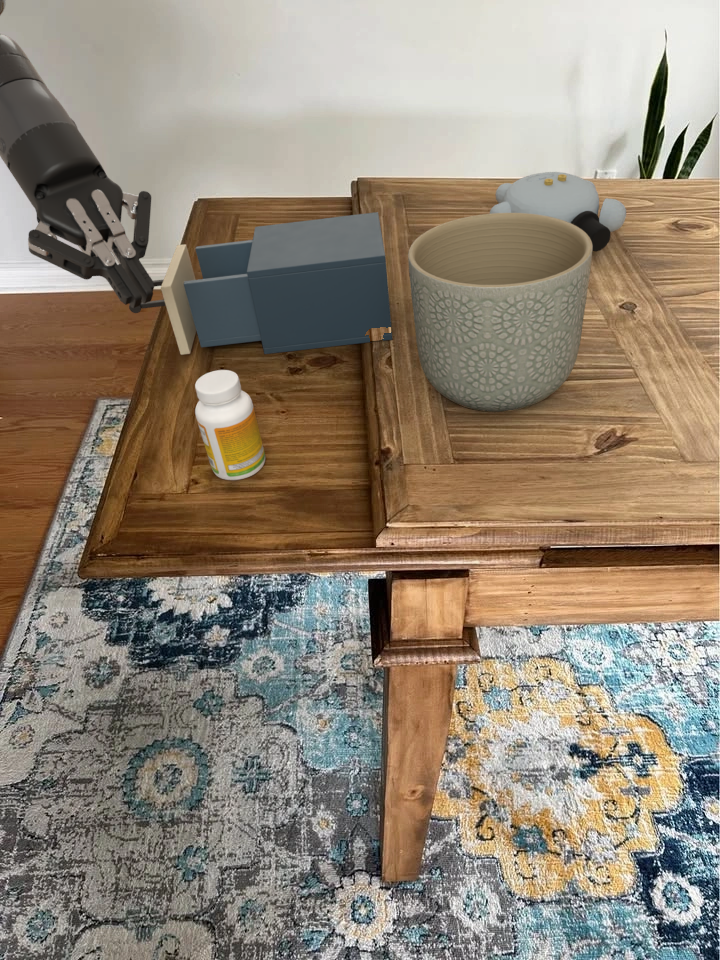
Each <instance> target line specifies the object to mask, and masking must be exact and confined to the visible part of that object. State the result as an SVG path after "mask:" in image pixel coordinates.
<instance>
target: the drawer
mask: <svg viewBox="0 0 720 960" xmlns="http://www.w3.org/2000/svg"><path fill="white" fill-rule="evenodd" d="M252 241H253V239H247V240H239V241H232V242H224V243H214V244H206V245H199V246H195V253H196V257H197V261H198V264H199V265H198V266H199V268H200V273H201V277H202V279H201V278H200V279H196V275H195V272H194V269H193V264H192V260H191V257H190V254H189V253H190V252H189V249H188V246H187V244H186V243H185V244H177V245H176V247H175V250H174V252H173V255H172V257H171V259H170V263H169V265H168V267H167V270H166V273H165V275H164V278H163V279H155V280H153V283H154V288H155V287H160V290H161V293H162V297H163V299H158V300H151V301H149V302H147V303H143V302H142V301H141V304H140V306H138V307H135V308H132V307H131V306H130V304H128V305H129V306H128V307H129V308H128V309H129V311H130V312H131V313H133V314H139V313H141V311H142V309H150V308H151V309H152V308H159V307H166V310H167V313H168V317H169V321H170V323H171V327H172V330H173V334H174V337H175V341H176V344H177V347H178V350H179V354H180V355H181V356H183V355H190V354H191V351H192V349H193V346H194V345H193V344H194V340H195V337H196V334H197V338H198V341H199V345H200V348H208V347H209V348H210V347H217V346H226V345H235V344H242V343H252V342H259V341H260V342H262V340H261V336H260V331H259V327H258V322H257V317H256V313H255V308H254V303H253V299H252V294H251V290H250V285H249V280H248V276H247V268H248V263H249V257H250V252H251V247H252Z"/></svg>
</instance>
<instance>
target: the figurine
mask: <svg viewBox="0 0 720 960" xmlns="http://www.w3.org/2000/svg"><path fill="white" fill-rule="evenodd" d="M495 200H496V201H497V204H494V205H493V206H492V207H491V208H490V210H489V214H492V213H528V214H537V215H544V216H549V217H553V218H557V219H560V220H564V221H566V222H569V223H571V224H573V225H575V226H577V227H579V228H580V229H582V230H583V231H584V232H585V233H586V234H587V235H588V236H589V237H590V239H591V241H592V245H593V249H592V252H599V251H601V250H603V249H605V248H606V246H607V245H608V243H609V242H610V241H611V235H612V234H611V233H613V232H616V231H618V230H619V229H621V228H622V227H623V225H624V223H625V220H626V218H627V208H626V207H625V204H623V203H622V201H620V200H618V199H615V198H609V197H608V198H605V199H604V200H603V202H602V204H601V208H600V196H599V192H598V191H597V188H596V185H595V184H594V182H593V181H590V180H588V179H584V178H582V177H580V176H577V175H575V174H571V173H566V172H561V171H545V172H538V173H533V174H529V175H526V176H523V177H521V178H519V179H517V180H516V181H514V182H512V183H510V182H505V183H502V184H500V185H498V187H497V189H496V190H495ZM599 209H600V210H599ZM599 211H600V212H599Z"/></svg>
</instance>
